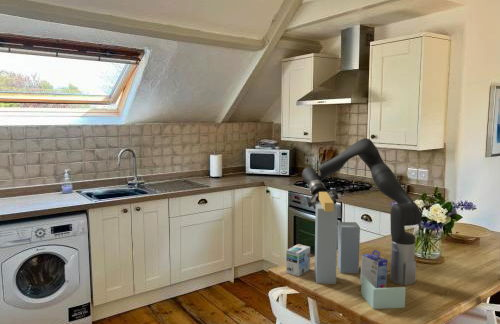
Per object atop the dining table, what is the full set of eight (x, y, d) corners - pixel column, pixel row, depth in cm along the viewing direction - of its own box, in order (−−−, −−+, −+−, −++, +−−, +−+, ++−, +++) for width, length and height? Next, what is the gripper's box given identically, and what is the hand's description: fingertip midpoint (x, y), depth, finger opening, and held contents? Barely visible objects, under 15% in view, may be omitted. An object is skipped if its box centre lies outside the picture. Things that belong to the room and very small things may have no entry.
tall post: (314, 275, 175) (315, 204, 171) (332, 275, 174) (334, 204, 170) (316, 283, 167) (317, 208, 163) (335, 283, 166) (337, 208, 162)
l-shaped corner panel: (404, 307, 146) (405, 288, 145) (372, 309, 145) (373, 289, 144) (390, 292, 158) (391, 274, 157) (361, 294, 157) (361, 275, 156)
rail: (318, 199, 180) (318, 191, 180) (326, 199, 180) (326, 191, 179) (324, 211, 158) (324, 202, 158) (333, 211, 158) (333, 202, 158)
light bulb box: (298, 276, 174) (298, 253, 172) (285, 273, 178) (285, 249, 176) (310, 269, 182) (310, 246, 181) (297, 265, 186) (298, 243, 185)
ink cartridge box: (387, 288, 161) (388, 254, 160) (377, 291, 159) (378, 256, 157) (369, 279, 170) (370, 247, 168) (359, 282, 168) (360, 249, 166)
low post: (337, 265, 185) (338, 222, 183) (354, 266, 185) (356, 222, 182) (340, 272, 178) (341, 227, 175) (358, 273, 177) (360, 227, 174)
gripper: (301, 187, 193) (308, 202, 178) (330, 179, 192) (339, 193, 177) (305, 200, 196) (312, 216, 181) (333, 192, 195) (342, 207, 180)
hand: (325, 205), depth 179 cm, fingers open, 8 cm apart
